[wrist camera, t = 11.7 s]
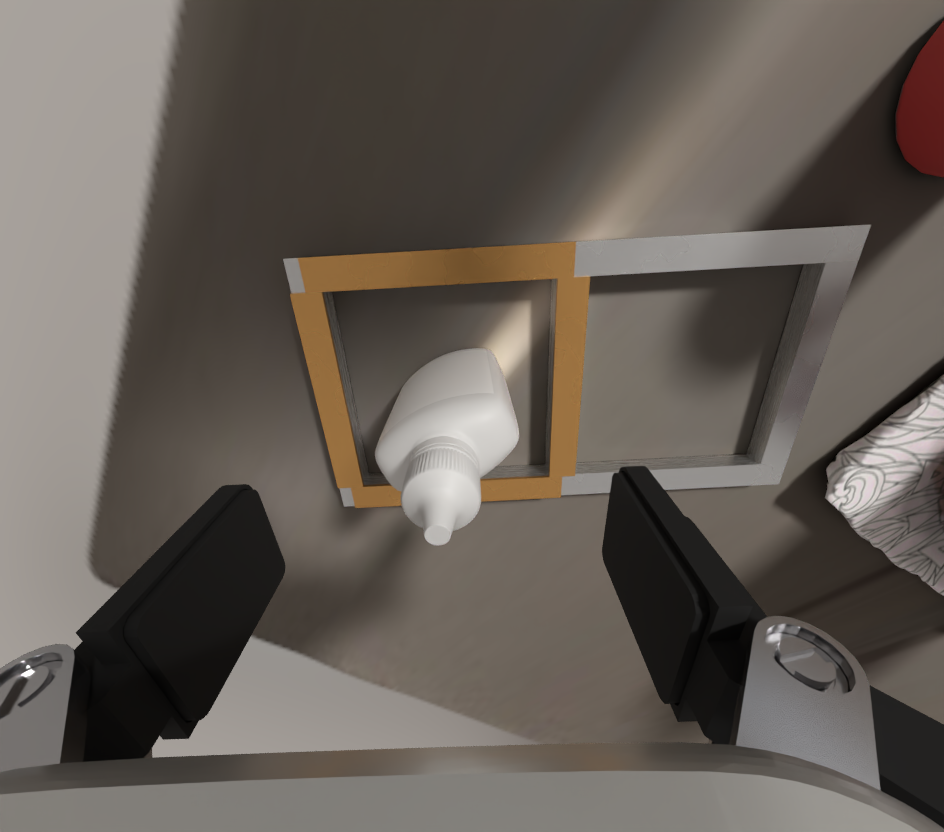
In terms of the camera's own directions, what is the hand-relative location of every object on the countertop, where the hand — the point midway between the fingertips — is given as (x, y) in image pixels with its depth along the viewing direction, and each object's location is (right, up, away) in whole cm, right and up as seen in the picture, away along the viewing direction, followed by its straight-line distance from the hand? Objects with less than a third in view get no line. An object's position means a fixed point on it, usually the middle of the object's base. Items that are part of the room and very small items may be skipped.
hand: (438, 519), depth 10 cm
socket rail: (+6, +5, +11) cm, 13 cm away
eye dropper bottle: (0, +5, +11) cm, 12 cm away
